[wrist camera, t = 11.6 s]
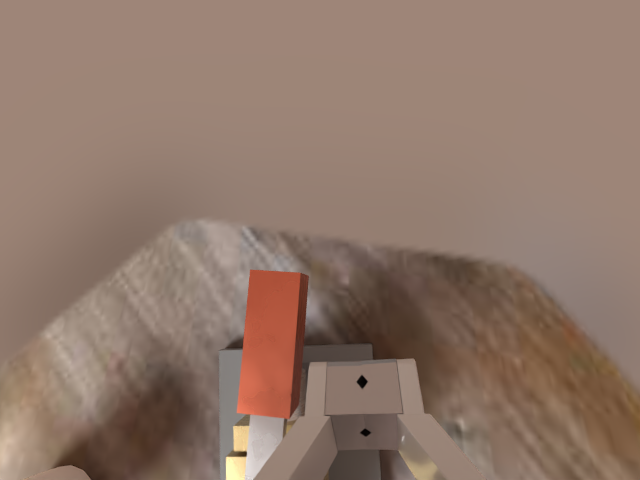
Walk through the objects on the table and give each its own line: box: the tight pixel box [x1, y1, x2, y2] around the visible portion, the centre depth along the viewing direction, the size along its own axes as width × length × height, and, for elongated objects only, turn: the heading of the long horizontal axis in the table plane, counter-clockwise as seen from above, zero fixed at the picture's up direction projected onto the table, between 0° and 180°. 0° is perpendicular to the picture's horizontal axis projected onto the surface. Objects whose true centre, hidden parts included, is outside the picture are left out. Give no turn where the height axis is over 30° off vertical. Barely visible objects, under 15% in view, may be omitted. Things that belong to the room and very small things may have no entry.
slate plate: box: [219, 343, 381, 480], centre depth 35 cm, size 14×18×2 cm
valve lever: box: [237, 270, 309, 480], centre depth 23 cm, size 16×3×3 cm, turn 176°
